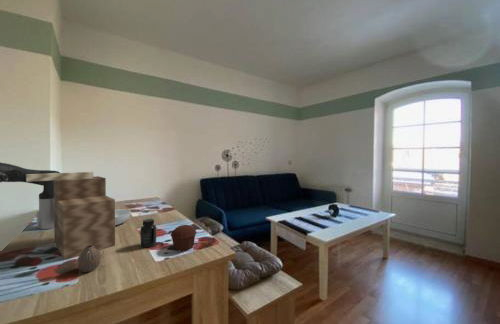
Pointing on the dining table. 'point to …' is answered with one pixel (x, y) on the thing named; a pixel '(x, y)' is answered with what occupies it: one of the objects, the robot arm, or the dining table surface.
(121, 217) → the serving bowl
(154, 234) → the supplement bottle
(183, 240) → the muffin
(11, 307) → the dining table surface
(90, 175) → the birch rod
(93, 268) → the brown egg-shaped lump
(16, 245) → the dining table surface
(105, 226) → the walnut stand
